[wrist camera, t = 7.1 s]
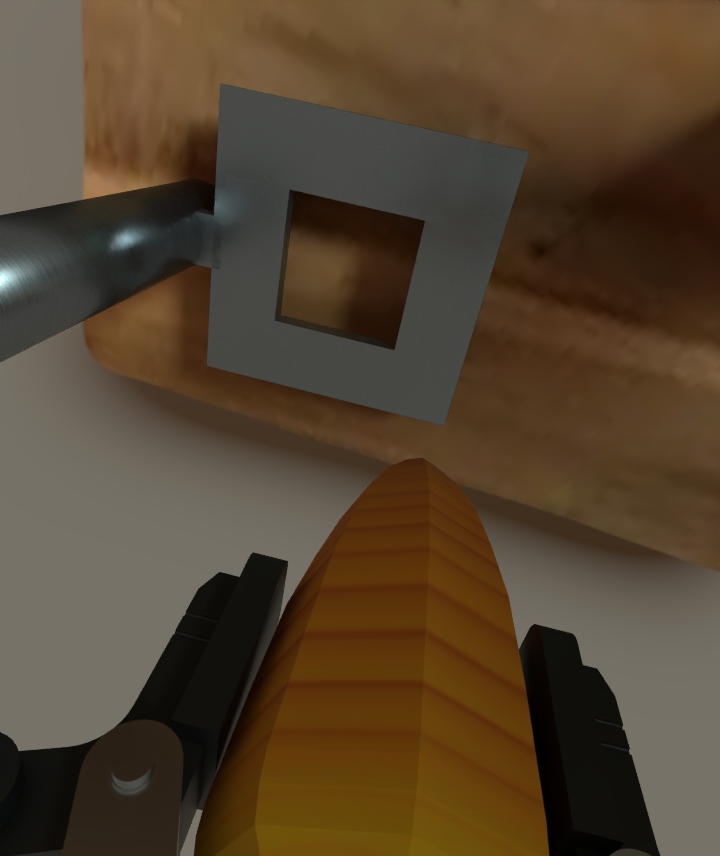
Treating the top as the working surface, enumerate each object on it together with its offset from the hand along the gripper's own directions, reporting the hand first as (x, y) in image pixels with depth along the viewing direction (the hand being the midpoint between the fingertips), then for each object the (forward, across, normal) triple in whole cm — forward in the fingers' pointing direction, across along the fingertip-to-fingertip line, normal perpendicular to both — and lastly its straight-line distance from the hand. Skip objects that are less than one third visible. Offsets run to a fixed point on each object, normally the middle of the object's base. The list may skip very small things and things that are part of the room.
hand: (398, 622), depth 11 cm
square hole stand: (+28, +8, 0) cm, 29 cm away
